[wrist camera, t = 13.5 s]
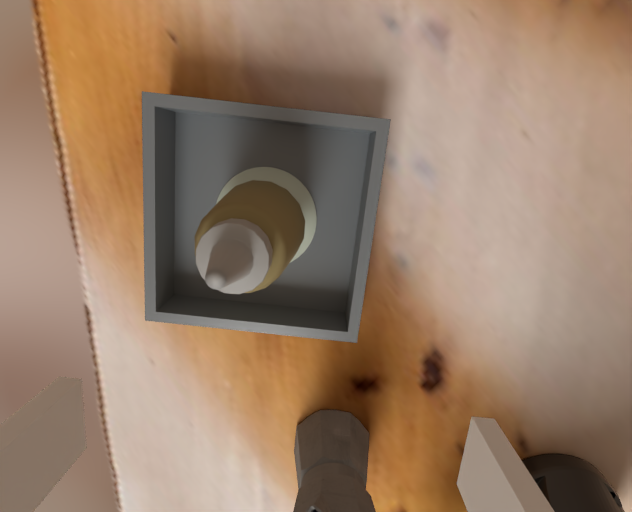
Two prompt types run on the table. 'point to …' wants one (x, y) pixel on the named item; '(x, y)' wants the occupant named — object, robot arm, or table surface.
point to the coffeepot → (332, 463)
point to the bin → (263, 165)
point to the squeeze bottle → (249, 237)
